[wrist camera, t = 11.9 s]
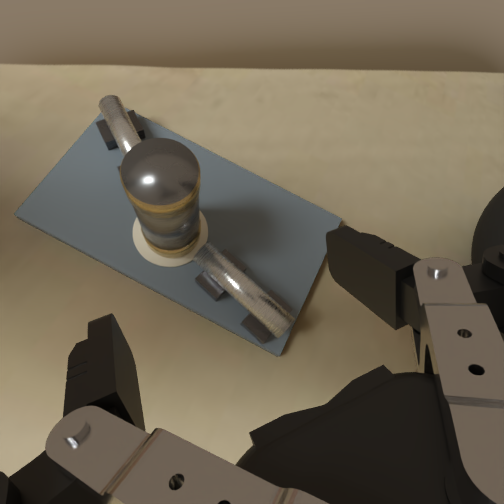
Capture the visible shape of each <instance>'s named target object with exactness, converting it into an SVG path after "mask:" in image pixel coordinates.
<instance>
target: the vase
mask: <svg viewBox="0 0 504 504" xmlns="http://www.w3.org/2000/svg"><path fill="white" fill-rule="evenodd" d="M497 245H504V187H503V188H502V189H501V190H500V191H499V192H498V193H497V194H496V195H495V196H494V197H493V198H492V200H491V201H490V202H489V204H488V205H487V206H486V208H485V209H484V211H483V213H482V215H481V217H480V219H479V221H478V223H477V226H476V229H475V232H474V236H473V242H472V254H471V256H472V265H473V264H478V263H482V260H483V253H484V251H485V250H486V249H487V248H490V247H492V246H497Z"/></svg>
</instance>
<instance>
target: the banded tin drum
mask: <svg viewBox="0 0 504 504" xmlns="http://www.w3.org/2000/svg"><path fill="white" fill-rule="evenodd" d="M120 180H121V183H122V185H123V188H124V190H125V193H126V195H127V197H128V199H129V201H130V203H131V204H132V206H133V208H134V211H135V213H136V216H137V218H138V221H139V223H140V226H141V231H142V234H143V236H144V239H145V241H146V243H147V245H148V247H149V248H150V249H151V250H152V251H153V252H154V253H156V254H158V255H160V256H162V257H166V258H178V257H181V256H184V255H186V254H188V253H190V252H191V251H192V250H193V249H194V248H195V247H196V246H197V244H198V242H199V240H200V236H201V220H200V216H199V193H200V186H201V182H200V166H199V162H198V160H197V158H196V156H195V155H194V154H193V152H192V151H191V150H190V149H189V148H187V147H186V146H185V145H183V144H182V143H180V142H178V141H175V140H172V139H168V138H151V139H147V140H144V141H142V142H140V143H138V144H136V145H135V146H133V147H132V148H131V149H130V150H129V151H128V152H127V154H126V155H125V157H124V158H123V160H122V163H121V166H120Z"/></svg>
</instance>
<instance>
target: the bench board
mask: <svg viewBox="0 0 504 504" xmlns="http://www.w3.org/2000/svg"><path fill="white" fill-rule="evenodd" d="M124 108H125V107H124ZM125 110H126V112H128V111H130V110H129V109H127V108H125ZM135 114H136V113H135ZM136 116H137V118H138V120H139V121H140V123H141V125H142V127H143V129H144V133H145V137H146V138H144V139H141V141H144V140H147V139H151V138H168V139H172V140H175V141H178V142H180V143H182V144H183V145H185V146H186V147H187V148H189V149H190V150H191V151H192V152H193V154H194V155H195V156H196V158H197V160H198V162H199V166H200V182H201V186H200V193H199V216H200V220H201V236H200V240H199V242H198V244H197V246H196V247H195V248H194V249H193V250H192V251H191V252H190V253H188V254H186V255H184V256H181V257H178V258H166V257H162V256H160V255H158V254H156V253H154V252H153V251H152V250H151V249H150V248H149V247H148V245H147V243H146V241H145V239H144V236H143V234H142V231H141V226H140V223H139V221H138V218H137V216H136V213H135V211H134V208H133V206H132V204H131V203H130V201H129V199H128V197H127V195H126V193H125V190H124V188H123V185H122V183H121V180H120V173H119V171H118V168H117V167H118V166H121V163H122V160H123V158H124V157H123V155H122V153H121V151H120V149H119V147H118V148H115V149H112V150H109V151H108V149H107V147H106V144H105V142H104V140H103V138H102V136H101V134H100V132H99V130H98V127H97V125H96V123H95V122H97V121H100V120H103V119H104V117H103V115H102V113H100V114H99V115H98V117H97V118H96V119H95V120H94V121H93V122H92V124H91V125H90V126H89V127H88V128H87V129H86V131H85V132H84V133H83V134H82V135H81V136H80V138H79V139H78V140H77V141H76V142H75V143H74V144H73V146H72V147H71V148H70V149H69V150H68V151H67V153H66V154H65V155H64V156H63V157H62V158H61V160H60V161H59V162H58V163H57V164H56V165H55V167H54V168H53V169H52V170H51V171H50V172H49V174H48V175H47V176H46V177H45V178H44V179H43V181H42V182H41V183H40V184H39V185H38V186H37V187H36V189H35V190H34V191H33V192H32V193H31V194H30V196H29V197H28V198H27V199H26V200H25V201H24V203H23V204H22V205H21V206H20V207H19V208H18V210H17V211H16V212H15V213H14V215H15V216H16V217H17V218H19V219H20V220H22V221H24V222H26V223H28V224H29V225H31V226H33V227H35V228H37V229H39V230H41V231H43V232H44V233H46V234H48V235H50V236H52V237H54V238H56V239H58V240H60V241H61V242H63V243H65V244H67V245H69V246H71V247H73V248H75V249H76V250H78V251H80V252H82V253H84V254H86V255H88V256H90V257H91V258H93V259H95V260H97V261H99V262H101V263H103V264H105V265H106V266H108V267H110V268H112V269H114V270H116V271H118V272H120V273H121V274H123V275H125V276H127V277H129V278H131V279H133V280H135V281H136V282H138V283H140V284H142V285H144V286H146V287H148V288H150V289H152V290H153V291H155V292H157V293H159V294H161V295H163V296H165V297H167V298H168V299H170V300H172V301H174V302H176V303H178V304H180V305H182V306H183V307H185V308H187V309H189V310H191V311H193V312H195V313H197V314H198V315H200V316H202V317H204V318H206V319H208V320H210V321H212V322H213V323H215V324H217V325H219V326H221V327H223V328H225V329H227V330H228V331H230V332H232V333H234V334H236V335H238V336H240V337H242V338H244V339H245V340H247V341H249V342H251V343H253V344H255V345H257V346H259V347H260V348H262V349H264V350H266V351H268V352H270V353H272V354H274V355H275V356H277V357H278V356H280V355H281V352H282V350H283V348H284V346H285V343H286V341H287V339H288V337H289V335H290V332H291V330H292V328H293V326H294V324H295V321H296V319H297V317H298V315H299V312H300V310H301V308H302V306H303V304H304V301H305V299H306V297H307V295H308V293H309V290H310V288H311V286H312V284H313V281H314V279H315V277H316V275H317V273H318V270H319V268H320V266H321V264H322V262H323V259H324V257H325V255H326V253H327V246H326V233H327V232H329V231H331V230H334V229H337V228H338V226H339V224H340V222H341V220H342V218H340V217H338V216H336V215H334V214H332V213H330V212H328V211H326V210H324V209H322V208H320V207H318V206H316V205H314V204H312V203H310V202H308V201H306V200H304V199H303V198H301V197H299V196H297V195H295V194H293V193H291V192H289V191H287V190H285V189H283V188H281V187H279V186H277V185H275V184H273V183H271V182H269V181H267V180H265V179H263V178H261V177H260V176H258V175H256V174H254V173H252V172H250V171H248V170H246V169H244V168H242V167H240V166H238V165H236V164H234V163H232V162H230V161H228V160H226V159H224V158H222V157H220V156H218V155H217V154H215V153H213V152H211V151H209V150H207V149H205V148H203V147H201V146H199V145H197V144H195V143H193V142H191V141H189V140H187V139H185V138H183V137H181V136H179V135H177V134H175V133H174V132H172V131H170V130H168V129H166V128H164V127H162V126H160V125H158V124H156V123H154V122H152V121H150V120H148V119H146V118H144V117H142V116H140V115H138V114H136ZM208 242H211V243H212V244H213V245H214V246H215V247H216V248H217V249H218V250H219V251H220V252H223V251H224V250H225V249H226V250H227V251H229V252H230V253H231V254H232V255H233V256H234V257H235V258H236V259H237V260H239V261H240V262H241V263H242V264H243V265H244V266H245V267H246V270H245V272H244V273H245V274H246V275H247V276H248V277H249V278H250V279H251V280H253V281H254V282H255V283H256V284H257V285H258V286H259V287H260V288H261V289H263V290H264V291H265V292H266V293H268V292H269V291H270V290H272V291H273V292H274V293H275V294H276V295H277V296H279V297H280V298H281V299H282V300H283V301H284V302H285V303H286V304H287V305H289V306H290V307H291V308H292V309H293V310H292V311H291V312H290V315H291V316H292V317H294V318H295V320H294V322H293V323H292V324H291V325H290V327H289V328H288V329H287V330H286V331H285V332H284V333H283V335H282V336H280V337H279V338H277V337H276V336H274V335H273V334H272V335H271V336H270V337H269V338H268V339H267V340H266V342H265V343H264V344H261V343H260V342H259V341H258V340H256V339H255V338H254V337H253V336H252V335H251V334H250V333H249V332H248V331H247V330H246V329H245V328H244V327H243V326H241V325H240V324H241V322H242V321H243V320H244V319H245V318H246V317H247V315H248V314H249V313H250V312H248V311H247V310H246V309H245V308H244V307H243V306H242V305H241V304H240V303H239V302H238V301H236V300H235V299H234V298H233V297H232V296H231V295H230V294H229V293H228V292H227V291H226V292H225V293H224V294H223V295H222V296H221V297H220V298H219V299H218V300H217V301H215V300H214V299H212V298H211V297H210V296H209V295H208V294H207V293H206V292H205V291H204V290H203V289H202V288H201V287H200V286H198V285H197V284H196V283H195V278H196V277H197V276H198V275H199V274H200V273H201V272H202V271H203V269H202V268H201V267H200V266H198V265H197V264H196V263H195V262H194V261H193V258H194V256H195V254H196V253H197V252H198V250H199V249H200V248H201V247H202V246H204V245H205V244H206V243H208Z"/></svg>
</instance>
